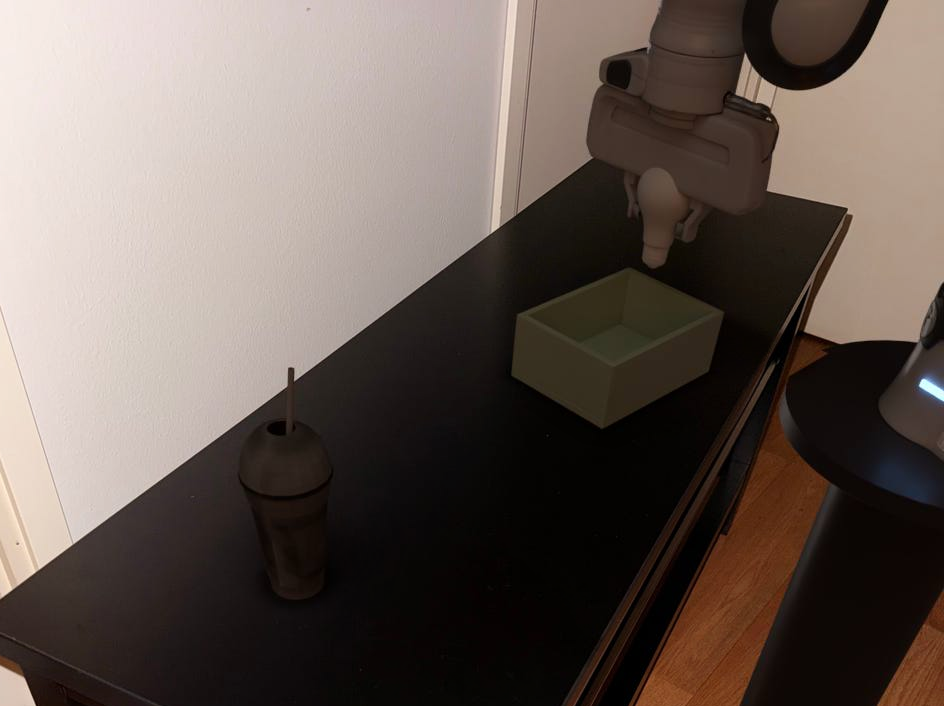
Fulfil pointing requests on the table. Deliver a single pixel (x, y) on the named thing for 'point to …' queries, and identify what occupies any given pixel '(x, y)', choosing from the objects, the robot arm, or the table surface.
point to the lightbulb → (659, 214)
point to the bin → (614, 345)
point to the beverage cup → (289, 500)
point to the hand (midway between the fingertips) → (660, 228)
